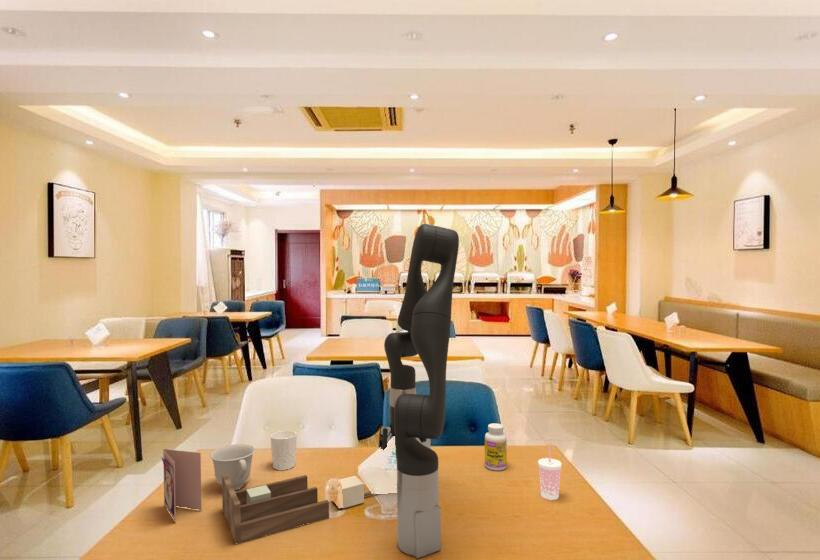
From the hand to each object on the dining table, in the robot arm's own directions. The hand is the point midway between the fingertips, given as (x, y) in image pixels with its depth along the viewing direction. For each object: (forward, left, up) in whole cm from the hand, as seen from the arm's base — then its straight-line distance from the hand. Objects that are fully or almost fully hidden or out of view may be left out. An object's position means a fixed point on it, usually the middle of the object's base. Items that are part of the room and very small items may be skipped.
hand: (403, 460), depth 132 cm
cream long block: (0, +9, -7) cm, 12 cm away
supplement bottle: (-3, -31, -8) cm, 32 cm away
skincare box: (+14, -14, -8) cm, 21 cm away
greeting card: (+18, +55, -8) cm, 58 cm away
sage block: (+8, +38, -8) cm, 39 cm away
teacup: (+24, +41, -8) cm, 48 cm away
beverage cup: (-25, -31, -8) cm, 41 cm away
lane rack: (+4, +35, -7) cm, 36 cm away
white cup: (+32, +25, -8) cm, 41 cm away
